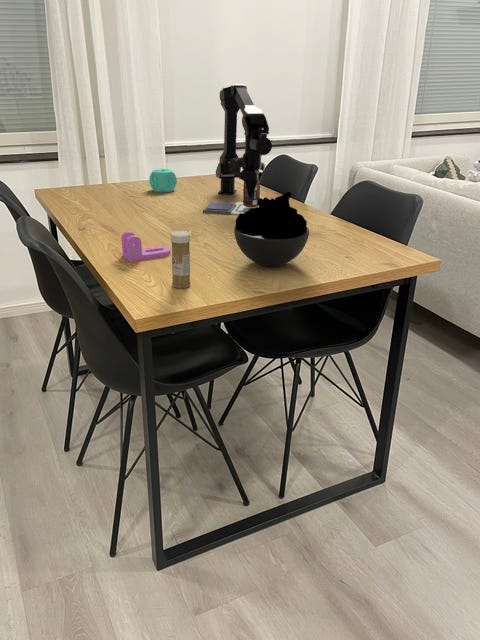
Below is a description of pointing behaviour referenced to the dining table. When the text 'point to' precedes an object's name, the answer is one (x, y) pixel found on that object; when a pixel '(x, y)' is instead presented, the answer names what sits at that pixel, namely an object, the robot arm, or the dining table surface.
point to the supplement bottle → (254, 199)
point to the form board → (240, 208)
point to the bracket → (140, 249)
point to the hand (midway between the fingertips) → (251, 194)
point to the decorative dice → (163, 180)
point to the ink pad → (219, 208)
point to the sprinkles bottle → (180, 259)
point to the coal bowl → (271, 231)
